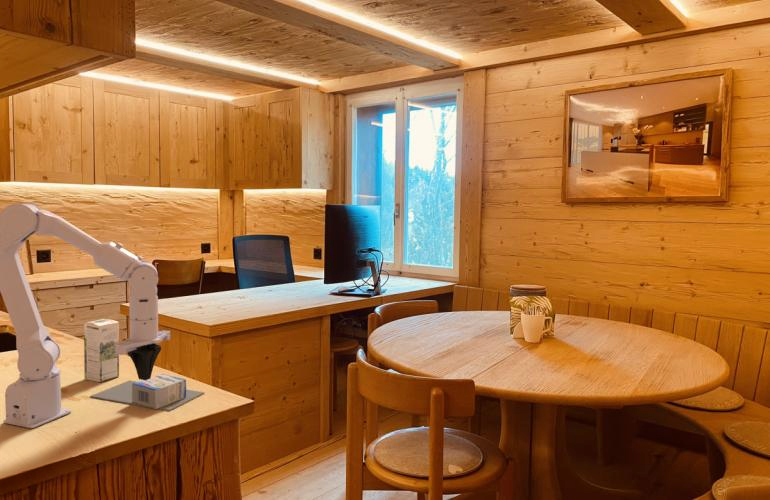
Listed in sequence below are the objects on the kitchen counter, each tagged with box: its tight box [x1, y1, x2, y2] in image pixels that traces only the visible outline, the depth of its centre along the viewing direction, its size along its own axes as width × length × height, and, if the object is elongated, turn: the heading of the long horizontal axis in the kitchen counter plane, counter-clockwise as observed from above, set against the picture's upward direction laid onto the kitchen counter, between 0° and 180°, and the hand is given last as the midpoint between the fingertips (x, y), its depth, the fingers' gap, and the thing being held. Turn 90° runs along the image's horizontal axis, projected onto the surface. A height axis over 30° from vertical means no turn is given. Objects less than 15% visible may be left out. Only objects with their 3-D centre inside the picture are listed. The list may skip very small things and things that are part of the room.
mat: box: [89, 380, 205, 412], centre depth 133 cm, size 12×22×1 cm, turn 71°
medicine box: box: [132, 373, 187, 410], centre depth 129 cm, size 8×4×9 cm
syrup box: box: [83, 318, 120, 383], centre depth 144 cm, size 6×6×14 cm
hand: (144, 378), depth 126 cm, fingers closed
